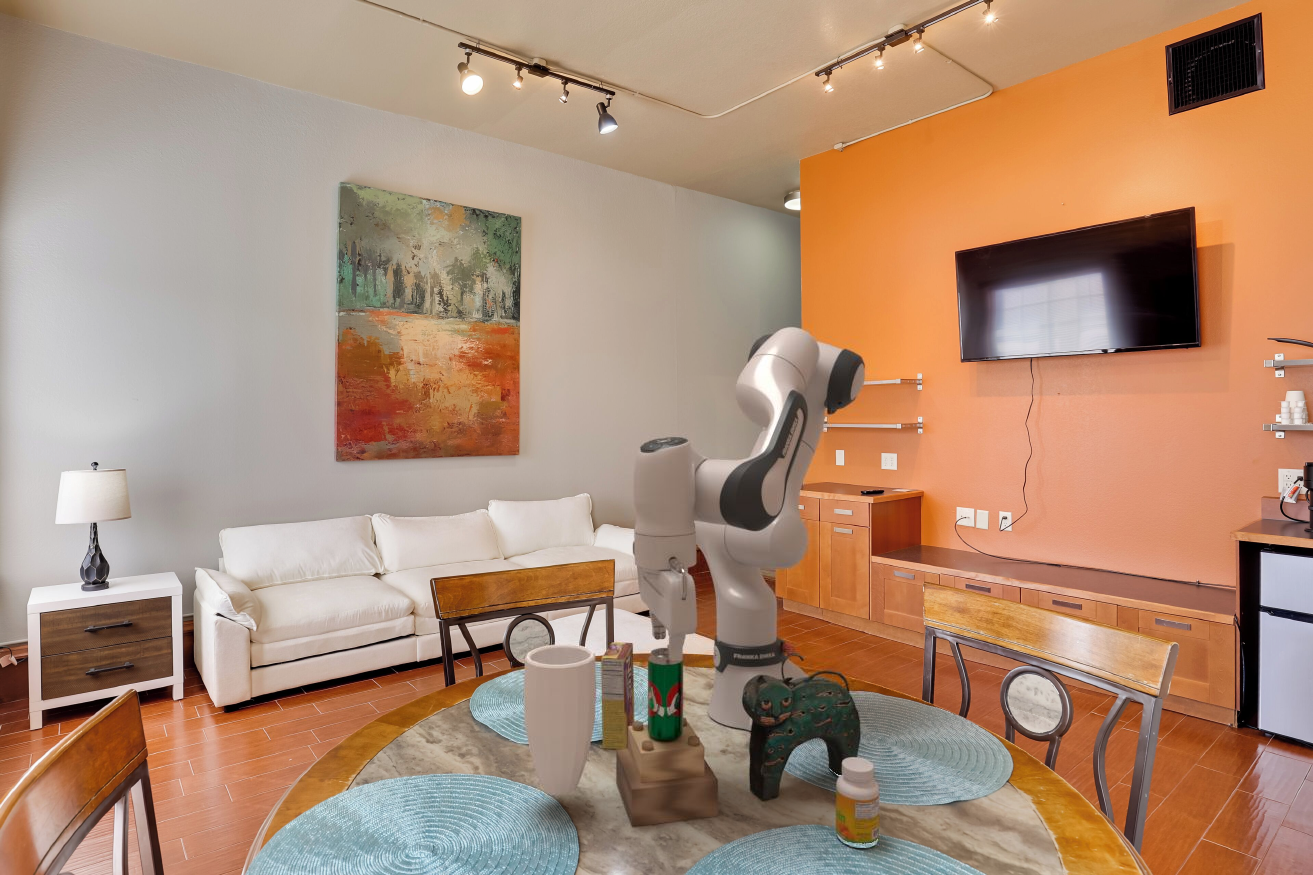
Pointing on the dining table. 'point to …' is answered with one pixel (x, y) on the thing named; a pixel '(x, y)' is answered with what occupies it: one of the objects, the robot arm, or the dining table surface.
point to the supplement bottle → (857, 802)
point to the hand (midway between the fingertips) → (666, 647)
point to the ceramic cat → (797, 724)
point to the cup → (559, 713)
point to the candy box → (617, 694)
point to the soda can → (665, 696)
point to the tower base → (665, 795)
